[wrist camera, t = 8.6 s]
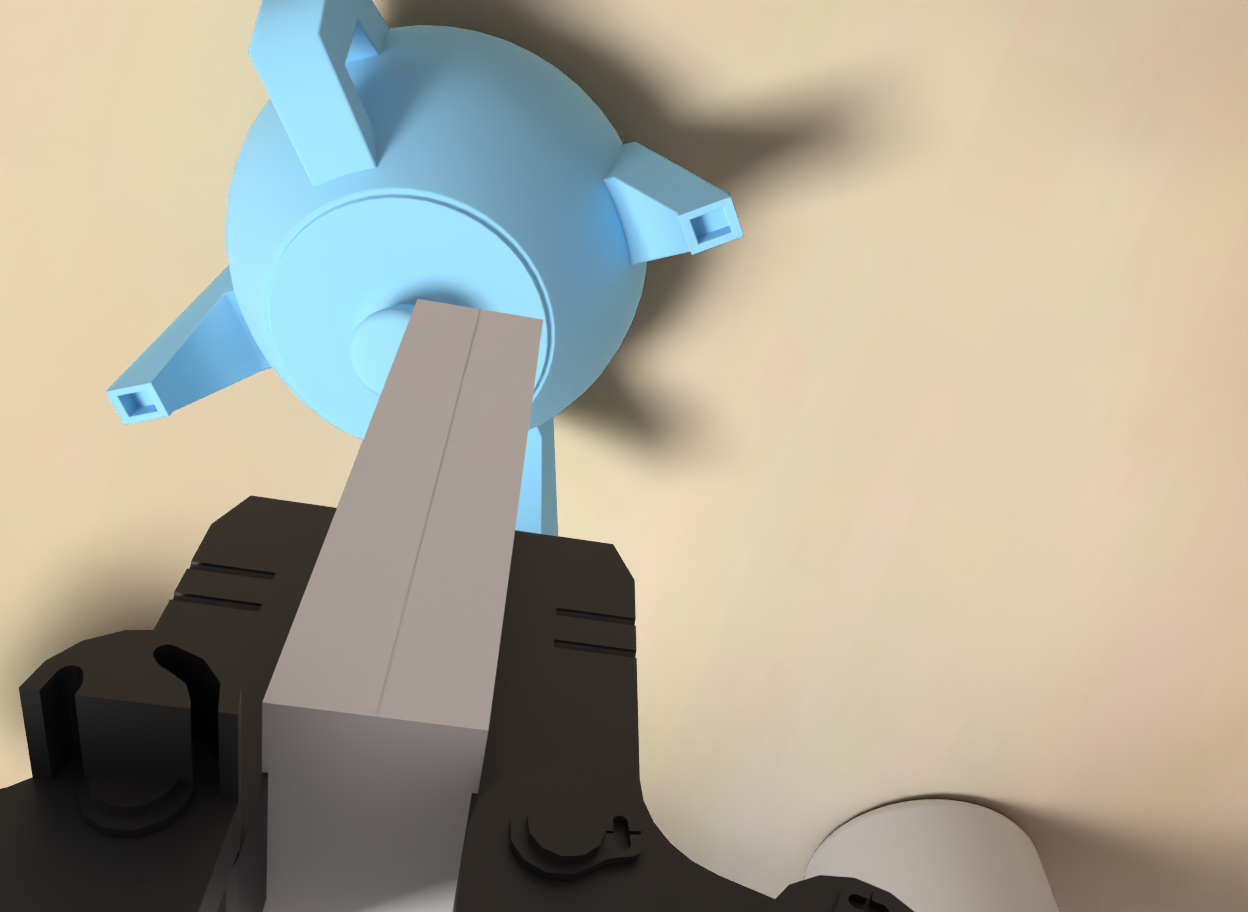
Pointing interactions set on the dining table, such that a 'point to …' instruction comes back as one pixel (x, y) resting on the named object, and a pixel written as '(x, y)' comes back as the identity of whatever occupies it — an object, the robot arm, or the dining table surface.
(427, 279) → the teapot
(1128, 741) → the dining table surface
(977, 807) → the cylinder vase
